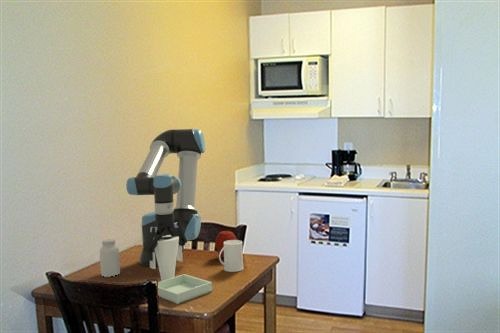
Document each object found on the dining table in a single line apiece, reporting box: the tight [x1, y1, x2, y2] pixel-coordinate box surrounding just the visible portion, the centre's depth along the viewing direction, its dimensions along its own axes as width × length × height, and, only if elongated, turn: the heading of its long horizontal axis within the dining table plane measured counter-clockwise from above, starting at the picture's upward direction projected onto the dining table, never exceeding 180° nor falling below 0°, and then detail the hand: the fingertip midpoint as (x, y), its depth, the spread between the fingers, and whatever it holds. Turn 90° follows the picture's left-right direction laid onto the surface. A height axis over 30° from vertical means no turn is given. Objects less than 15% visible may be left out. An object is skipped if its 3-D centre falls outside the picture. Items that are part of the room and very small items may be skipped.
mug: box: [218, 239, 245, 273], centre depth 219 cm, size 12×8×12 cm
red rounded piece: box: [215, 228, 238, 259], centre depth 238 cm, size 10×10×14 cm
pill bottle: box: [99, 238, 121, 278], centre depth 218 cm, size 8×8×15 cm
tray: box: [157, 273, 213, 305], centre depth 193 cm, size 17×17×4 cm
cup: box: [155, 235, 179, 281], centre depth 206 cm, size 11×11×18 cm
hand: (166, 264), depth 206 cm, fingers open, 13 cm apart
